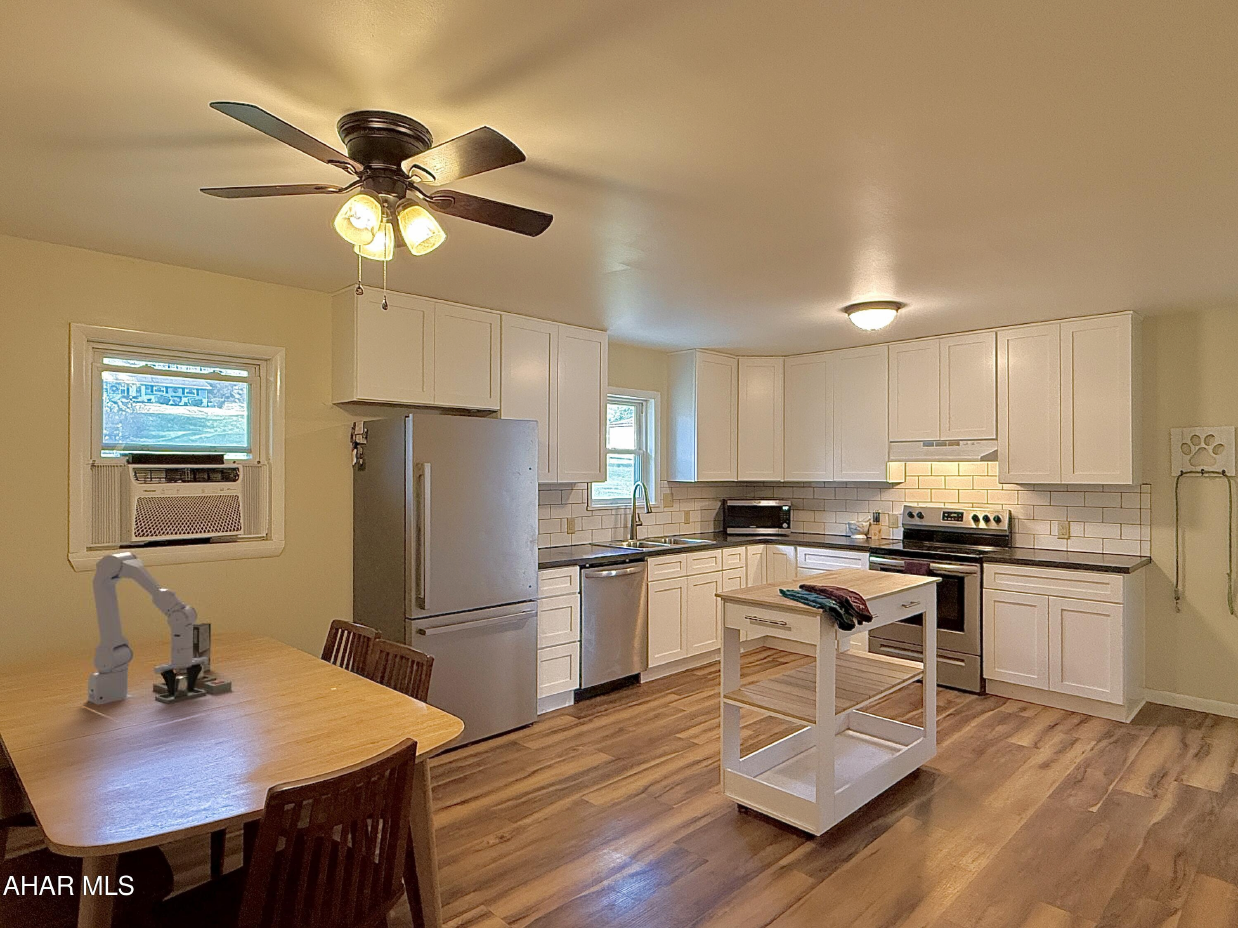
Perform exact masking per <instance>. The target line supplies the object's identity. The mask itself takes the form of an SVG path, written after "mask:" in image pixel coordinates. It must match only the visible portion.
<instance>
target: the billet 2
mask: <svg viewBox="0 0 1238 928" xmlns="http://www.w3.org/2000/svg"><path fill="white" fill-rule="evenodd" d="M203 674H204V672H203V666H202V670H201V672H200V674H199V675H198V677H197V680H196V681H198V680H202V679H203Z"/></svg>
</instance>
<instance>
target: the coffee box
mask: <svg viewBox="0 0 1238 928" xmlns="http://www.w3.org/2000/svg"><path fill="white" fill-rule="evenodd" d="M211 627H212V623H210V622H209V623H208V622H194V623H193V659H194V658H202V657H206V658H208V664H205V665H203V664H202V665H200V666H203V673H204V672H207V671H209V670H211V646H212V645H211V643H212V642H211V639H212V638H211V636H212V635H211V633H212V629H211ZM174 673H176V674H187V670H186V668H182V669H177V670H174Z"/></svg>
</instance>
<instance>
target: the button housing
mask: <svg viewBox="0 0 1238 928" xmlns="http://www.w3.org/2000/svg"><path fill="white" fill-rule="evenodd" d="M216 681H222V683H220V684H214V682H215V681H211V682H207V683H204V687H203V691H205V692H206V693H208V694H211V695H217V694H220V693H221V694H222V693H224V692H228V691H232V686H233V685H232V681H230V680H226V679H224V678H223V679H222V678H221V679H217V680H216Z"/></svg>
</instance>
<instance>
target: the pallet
mask: <svg viewBox="0 0 1238 928" xmlns="http://www.w3.org/2000/svg"><path fill="white" fill-rule="evenodd" d="M217 678H218V677H215V676H212V675H208V674H205V673H203V679H202V680H198V681H196V682H195V685H194V688H196V689H200V688H202V689H203V688H204V683H207V682H211V681H216V680H218V679H217ZM152 692H157V693H159V694H161V695H162V694H166V693H168V689H167V685H166V683H165V681H161V682H160V681H159V682H155V683H153V684H152Z"/></svg>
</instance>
